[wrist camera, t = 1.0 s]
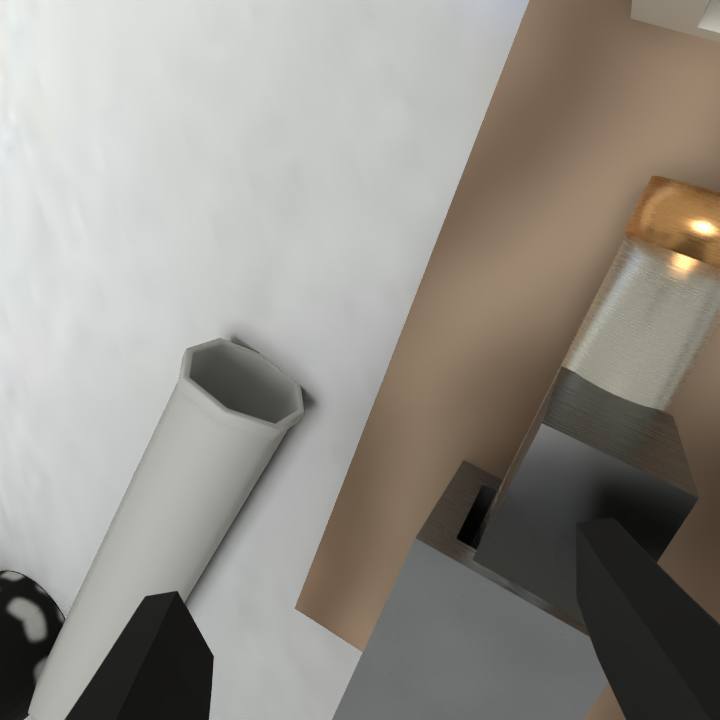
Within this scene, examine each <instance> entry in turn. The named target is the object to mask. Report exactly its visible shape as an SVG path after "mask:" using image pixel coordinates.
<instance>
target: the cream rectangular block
mask: <svg viewBox="0 0 720 720" xmlns="http://www.w3.org/2000/svg"><path fill="white" fill-rule="evenodd" d="M630 19H634V20H637V21H641V22H645V23H649V24H652V25H656V26H660V27H663V28H667V29H671V30H675V31H678V32H682V33H686V34H690V35H693V36H697V37H701V38H705V39H708V40H712V41H716V42H720V0H632V7H631V18H630Z"/></svg>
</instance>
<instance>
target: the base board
mask: <svg viewBox="0 0 720 720" xmlns="http://www.w3.org/2000/svg"><path fill="white" fill-rule="evenodd" d="M631 7H632V0H530V1H529V3H528V6H527V8H526V11H525V14H524V16H523V19H522V21H521V24H520V27H519V29H518V32H517V34H516V37H515V39H514V42H513V45H512V47H511V50H510V52H509V55H508V58H507V60H506V63H505V65H504V68H503V71H502V73H501V76H500V78H499V81H498V83H497V86H496V89H495V91H494V94H493V96H492V99H491V102H490V104H489V107H488V109H487V112H486V115H485V117H484V120H483V122H482V125H481V128H480V130H479V133H478V135H477V138H476V140H475V143H474V146H473V148H472V151H471V153H470V156H469V159H468V161H467V164H466V166H465V169H464V172H463V174H462V177H461V179H460V182H459V184H458V187H457V190H456V192H455V195H454V197H453V200H452V203H451V205H450V208H449V210H448V213H447V216H446V218H445V221H444V223H443V226H442V229H441V231H440V234H439V236H438V239H437V241H436V244H435V247H434V249H433V252H432V254H431V257H430V260H429V262H428V265H427V267H426V270H425V273H424V275H423V278H422V280H421V283H420V285H419V288H418V291H417V293H416V296H415V298H414V301H413V304H412V306H411V309H410V311H409V314H408V317H407V319H406V322H405V324H404V327H403V330H402V332H401V335H400V337H399V340H398V342H397V345H396V348H395V350H394V353H393V355H392V358H391V361H390V363H389V366H388V368H387V371H386V374H385V376H384V379H383V381H382V384H381V387H380V389H379V392H378V394H377V397H376V399H375V402H374V405H373V407H372V410H371V412H370V415H369V418H368V420H367V423H366V425H365V428H364V431H363V433H362V436H361V438H360V441H359V443H358V446H357V449H356V451H355V454H354V456H353V459H352V462H351V464H350V467H349V469H348V472H347V475H346V477H345V480H344V482H343V485H342V488H341V490H340V493H339V495H338V498H337V500H336V503H335V506H334V508H333V511H332V513H331V516H330V519H329V521H328V524H327V526H326V529H325V532H324V534H323V537H322V539H321V542H320V544H319V547H318V550H317V552H316V555H315V557H314V560H313V563H312V565H311V568H310V570H309V573H308V576H307V578H306V581H305V583H304V586H303V589H302V591H301V594H300V596H299V599H298V601H297V604H296V607H295V609H297V610H298V611H300V612H301V613H303V614H305V615H306V616H308V617H309V618H311V619H312V620H314V621H315V622H317V623H318V624H320V625H322V626H323V627H325V628H326V629H328V630H329V631H331V632H332V633H334V634H336V635H337V636H339V637H340V638H342V639H343V640H345V641H346V642H348V643H350V644H351V645H353V646H354V647H356V648H357V649H359V650H360V651H362V652H363V651H364V649H365V647H366V645H367V642H368V640H369V638H370V636H371V634H372V632H373V629H374V627H375V625H376V623H377V621H378V618H379V616H380V614H381V612H382V610H383V608H384V605H385V603H386V601H387V599H388V597H389V594H390V592H391V590H392V588H393V586H394V583H395V581H396V579H397V577H398V575H399V573H400V570H401V568H402V566H403V564H404V562H405V559H406V557H407V555H408V553H409V551H410V549H411V546H412V544H413V542H414V540H415V538H416V536H417V534H418V533H419V531H420V530H421V528H422V526H423V525H424V523H425V522H426V520H427V518H428V517H429V515H430V513H431V512H432V510H433V509H434V507H435V505H436V504H437V502H438V500H439V499H440V497H441V496H442V494H443V492H444V491H445V489H446V488H447V486H448V484H449V483H450V481H451V479H452V478H453V476H454V475H455V473H456V471H457V470H458V468H459V467H460V465H461V463H462V462H463V460H464V461H466V462H468V463H470V464H472V465H474V466H476V467H478V468H480V469H482V470H484V471H486V472H488V473H490V474H492V475H494V476H496V477H498V478H499V479H501V480H503V479H504V477H505V475H506V473H507V471H508V469H509V467H510V465H511V463H512V461H513V459H514V457H515V455H516V453H517V451H518V449H519V447H520V445H521V443H522V441H523V439H524V438H525V436H526V434H527V432H528V430H529V428H530V426H531V424H532V422H533V420H534V418H535V416H536V414H537V412H538V410H539V408H540V406H541V404H542V402H543V400H544V398H545V396H546V394H547V392H548V390H549V388H550V386H551V384H552V382H553V380H554V378H555V376H556V374H557V372H558V370H559V368H560V366H561V364H562V362H563V360H564V358H565V356H566V354H567V352H568V350H569V348H570V346H571V344H572V342H573V340H574V338H575V336H576V334H577V332H578V330H579V328H580V326H581V324H582V322H583V320H584V318H585V316H586V314H587V312H588V310H589V308H590V306H591V304H592V302H593V300H594V298H595V296H596V294H597V292H598V290H599V288H600V286H601V284H602V282H603V280H604V278H605V276H606V274H607V272H608V270H609V268H610V266H611V264H612V262H613V260H614V258H615V256H616V254H617V252H618V250H619V248H620V246H621V244H622V242H623V241H624V239H625V237H626V235H627V234H626V233H624V230H625V228H626V226H627V224H628V222H629V220H630V218H631V216H632V214H633V212H634V210H635V208H636V206H637V204H638V202H639V200H640V198H641V196H642V194H643V192H644V190H645V188H646V186H647V184H648V182H649V180H650V178H651V176H660V177H665V178H669V179H674V180H677V181H681V182H685V183H689V184H692V185H695V186H699V187H702V188H705V189H709V190H712V191H715V192H718V193H720V42H716V41H712V40H708V39H705V38H701V37H697V36H693V35H690V34H686V33H682V32H678V31H675V30H671V29H667V28H663V27H660V26H656V25H652V24H649V23H645V22H641V21H637V20H634V19H630V18H631ZM666 413H668V414H670V415H673V417H674V420H675V423H676V427H677V430H678V433H679V436H680V439H681V442H682V445H683V449H684V452H685V455H686V458H687V461H688V464H689V468H690V471H691V474H692V477H693V480H694V483H695V487H696V490H697V493H698V496H699V499H698V501H697V502H696V504H695V505H694V507H693V508H692V510H691V511H690V513H689V514H688V516H687V517H686V519H685V520H684V522H683V524H682V525H681V527H680V528H679V530H678V531H677V533H676V534H675V536H674V537H673V539H672V540H671V542H670V543H669V545H668V546H667V548H666V549H665V551H664V553H663V554H662V556H661V557H660V559H659V560H658V562H657V564H658V565H659V566H660V567H661V568H662V569H663V570H664V571H665V572H666V573H667V574H668V575H669V576H670V577H671V578H672V579H673V580H674V581H675V582H676V583H677V584H678V585H679V586H680V587H681V588H682V589H683V590H684V591H685V592H686V593H687V594H688V595H689V596H690V597H691V598H692V599H694V600H695V601H696V602H697V603H698V604H699V605H700V606H701V607H702V608H703V609H704V610H705V611H706V612H707V613H708V614H710V615H711V616H712V617H713V618H714V619H715V620H716V621H717V622H718V623H719V624H720V323H719V324H718V326H717V328H716V329H715V331H714V333H713V335H712V336H711V338H710V340H709V341H708V343H707V345H706V346H705V348H704V350H703V351H702V353H701V355H700V356H699V358H698V360H697V362H696V363H695V365H694V367H693V368H692V370H691V372H690V373H689V375H688V377H687V378H686V380H685V382H684V383H683V385H682V387H681V389H680V390H679V392H678V394H677V395H676V397H675V399H674V400H673V402H672V404H671V405H670V407H669V409H668V410H667V412H666ZM583 720H626V718H625V716H624V714H623V712H622V710H621V708H620V706H619V703H618V701H617V699H616V697H615V695H614V693H613V691H612V688H611V686H610V684H609V682H608V683H607V685H606V686H605V688H604V689H603V691H602V692H601V694H600V695H599V697H598V698H597V699H596V701H595V702H594V704H593V705H592V707H591V708H590V710H589V711H588V713H587V714H586V716H585V717H584V719H583Z"/></svg>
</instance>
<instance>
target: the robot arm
mask: <svg viewBox="0 0 720 720" xmlns="http://www.w3.org/2000/svg"><path fill="white" fill-rule="evenodd" d="M576 596H577V601H578V604H579V607H580V610H581V613H582V616H583V619H584V621H585V624H586V627H587V630H588V633H589V636H590V639H591V641H592V644H593V647H594V650H595V652H596V655H597V658H598V660H599V662H600V665H601V667H602V669H603V671H604V673H605V675H606V678H607V680H608V682H609V684H610V686H611V688H612V691H613V693H614V695H615V697H616V699H617V701H618V703H619V706H620V708H621V710H622V712H623V714H624V716H625V718H626V720H720V624H719V623H718V622H717V621H716V620H715V619H714V618H713V617H712V616H711V615H710V614H708V613H707V612H706V611H705V610H704V609H703V608H702V607H701V606H700V605H699V604H698V603H697V602H696V601H695V600H694V599H692V598H691V597H690V596H689V595H688V594H687V593H686V592H685V591H684V590H683V589H682V588H681V587H680V586H679V585H678V584H677V583H676V582H675V581H674V580H673V579H672V578H671V577H670V576H669V575H668V574H667V573H666V572H665V571H664V570H663V569H662V568H661V567H660V566H659V565H658V564H657V563H656V562H655V561H654V560H653V559H652V558H651V557H650V555H649V554H648V553H647V552H646V551H645V550H644V549H643V548H642V547H641V546H640V545H639V544H638V543H637V542H636V541H635V540H634V539H633V537H632V536H631V535H630V534H629V533H628V532H627V531H626V530H625V529H624V528H623V527H622V525H621V524H620V523H619V522H618V521H617V520H615V519H613V518H612V517H611V518H605V519H599V520H593V521H587V522H581V523H576ZM213 659H214V656H213V654H212V653H211V651H210V649H209V647H208V645H207V643H206V642H205V640H204V638H203V636H202V634H201V633H200V631H199V629H198V627H197V625H196V624H195V622H194V620H193V618H192V616H191V614H190V613H189V611H188V609H187V607H186V605H185V604H184V602H183V600H182V598H181V596H180V595H179V593H178V591H173V592H167V593H161V594H155V595H149V596H145V597H144V599H143V600H142V602H141V603H140V605H139V606H138V608H137V609H136V611H135V612H134V614H133V615H132V617H131V618H130V620H129V621H128V623H127V625H126V626H125V628H124V629H123V631H122V632H121V634H120V636H119V637H118V639H117V640H116V642H115V643H114V645H113V646H112V648H111V650H110V651H109V653H108V654H107V656H106V657H105V659H104V660H103V662H102V664H101V665H100V667H99V668H98V670H97V671H96V673H95V674H94V676H93V678H92V679H91V681H90V682H89V684H88V685H87V687H86V688H85V690H84V691H83V693H82V694H81V696H80V697H79V699H78V700H77V702H76V703H75V705H74V706H73V708H72V709H71V711H70V712H69V713H68V715H67V716H66V718H65V719H64V720H209V712H210V701H211V690H212V675H213Z"/></svg>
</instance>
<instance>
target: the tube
mask: <svg viewBox="0 0 720 720" xmlns="http://www.w3.org/2000/svg"><path fill="white" fill-rule="evenodd" d="M304 414H305V413H304V406H303V398H302V390H301V385H299V384H298V383H297V382H296V381H294V380H293V379H292V378H290V377H289V376H288V375H287V374H285V373H284V372H283V371H282V370H280V369H279V368H278V367H276V366H275V365H274V364H273V363H271V362H270V361H269V360H268V359H266V358H265V357H264V356H262V355H261V354H260V353H259V352H256V351H253V350H251V349H248V348H245V347H242V346H240V345H237V344H234V343H232V342H229V341H226V340H224V339H221V338H219V339H216V340H213V341H209V342H206V343H203V344H200V345H197V346H193V347H190V348H187V349H186V351H185V353H184V356H183V358H182V364H181V369H180V375H179V380H178V382H177V384H176V387H175V389H174V391H173V393H172V395H171V397H170V399H169V401H168V404H167V406H166V408H165V410H164V412H163V414H162V416H161V418H160V421H159V423H158V425H157V427H156V429H155V431H154V433H153V435H152V438H151V440H150V442H149V444H148V446H147V448H146V450H145V452H144V454H143V457H142V459H141V461H140V463H139V465H138V467H137V469H136V471H135V474H134V476H133V478H132V480H131V482H130V484H129V486H128V488H127V491H126V493H125V495H124V497H123V499H122V501H121V503H120V505H119V508H118V510H117V512H116V514H115V516H114V518H113V520H112V522H111V525H110V527H109V529H108V531H107V533H106V535H105V537H104V539H103V542H102V544H101V546H100V548H99V550H98V552H97V554H96V556H95V559H94V561H93V563H92V565H91V567H90V569H89V571H88V573H87V576H86V578H85V580H84V582H83V584H82V586H81V588H80V590H79V593H78V595H77V597H76V599H75V601H74V603H73V605H72V607H71V610H70V612H69V614H68V616H67V618H66V620H65V622H64V624H63V627H62V629H61V631H60V633H59V635H58V637H57V639H56V641H55V643H54V646H53V648H52V650H51V652H50V654H49V656H48V658H47V660H46V663H45V665H44V667H43V669H42V671H41V673H40V675H39V678H38V681H37V684H36V687H35V691H34V694H33V697H32V701H31V704H30V707H29V711H28V714H29V715H30V716H31V717H32V718H33V719H34V720H64V719H65V718H66V716H67V715H68V713H69V712H70V711H71V709H72V708H73V706H74V705H75V703H76V702H77V700H78V699H79V697H80V696H81V694H82V693H83V691H84V690H85V688H86V687H87V685H88V684H89V682H90V681H91V679H92V678H93V676H94V674H95V673H96V671H97V670H98V668H99V667H100V665H101V664H102V662H103V660H104V659H105V657H106V656H107V654H108V653H109V651H110V650H111V648H112V646H113V645H114V643H115V642H116V640H117V639H118V637H119V636H120V634H121V632H122V631H123V629H124V628H125V626H126V625H127V623H128V621H129V620H130V618H131V617H132V615H133V614H134V612H135V611H136V609H137V608H138V606H139V605H140V603H141V602H142V600H143V599H144V597H145V596H149V595H155V594H161V593H167V592H173V591H178V593H179V595H180V596H181V598H182V600H183V602H184V603H185V601H186V600H187V598H188V596H189V594H190V593H191V591H192V589H193V588H194V586H195V584H196V583H197V581H198V579H199V578H200V576H201V574H202V573H203V571H204V569H205V568H206V566H207V564H208V563H209V561H210V559H211V558H212V556H213V554H214V553H215V551H216V549H217V548H218V546H219V544H220V543H221V541H222V539H223V538H224V536H225V534H226V533H227V531H228V529H229V528H230V526H231V524H232V522H233V521H234V519H235V517H236V516H237V514H238V512H239V511H240V509H241V507H242V506H243V504H244V502H245V501H246V499H247V497H248V496H249V494H250V492H251V491H252V489H253V487H254V486H255V484H256V482H257V481H258V479H259V477H260V476H261V474H262V472H263V471H264V469H265V467H266V466H267V464H268V462H269V461H270V459H271V457H272V455H273V454H274V452H275V450H276V449H277V447H278V445H279V444H280V442H281V440H282V439H283V437H284V435H285V434H286V432H287V430H288V429H289V428H290V427H292V426H293V425H295V424H296V423H298V422H299V421H300V420H301V418H302V417H303V415H304Z"/></svg>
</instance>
